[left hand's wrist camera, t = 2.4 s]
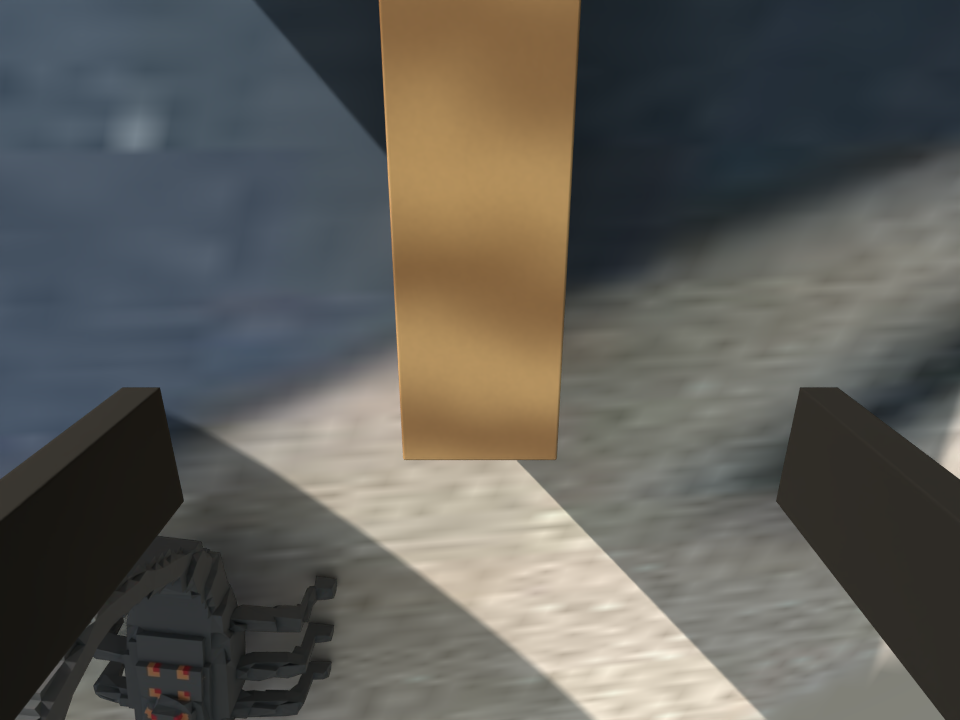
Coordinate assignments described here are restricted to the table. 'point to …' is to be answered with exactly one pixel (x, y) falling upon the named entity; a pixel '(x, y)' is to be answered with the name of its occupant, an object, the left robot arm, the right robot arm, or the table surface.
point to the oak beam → (479, 219)
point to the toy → (186, 644)
